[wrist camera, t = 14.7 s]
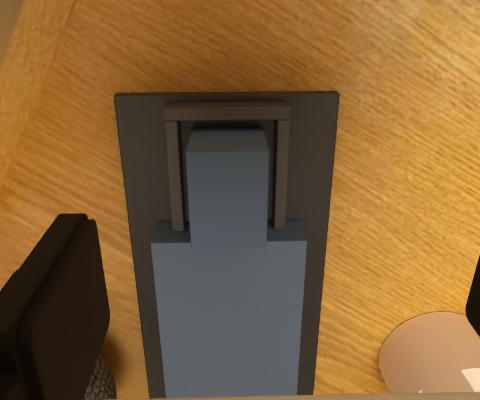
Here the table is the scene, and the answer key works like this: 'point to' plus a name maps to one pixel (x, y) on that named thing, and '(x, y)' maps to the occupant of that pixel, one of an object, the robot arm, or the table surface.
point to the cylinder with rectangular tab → (432, 355)
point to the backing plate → (158, 199)
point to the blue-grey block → (227, 187)
